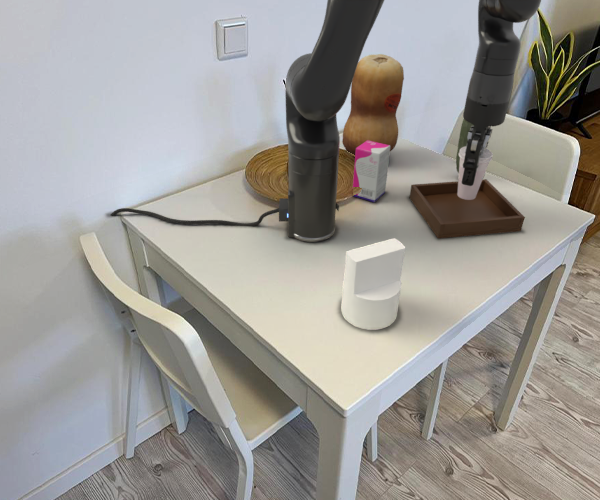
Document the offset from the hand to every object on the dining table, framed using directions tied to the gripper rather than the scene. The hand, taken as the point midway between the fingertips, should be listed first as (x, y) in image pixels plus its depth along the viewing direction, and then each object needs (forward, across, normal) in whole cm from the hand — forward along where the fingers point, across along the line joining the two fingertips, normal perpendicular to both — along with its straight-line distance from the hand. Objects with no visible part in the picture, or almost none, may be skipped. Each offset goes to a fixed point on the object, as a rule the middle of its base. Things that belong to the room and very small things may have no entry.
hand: (470, 177), depth 103 cm
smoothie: (+4, 0, 0) cm, 4 cm away
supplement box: (+9, +1, -21) cm, 22 cm away
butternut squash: (+9, -17, -27) cm, 33 cm away
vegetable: (+9, -17, -4) cm, 20 cm away
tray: (+9, 0, 0) cm, 9 cm away
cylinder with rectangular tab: (+9, +38, -8) cm, 40 cm away
